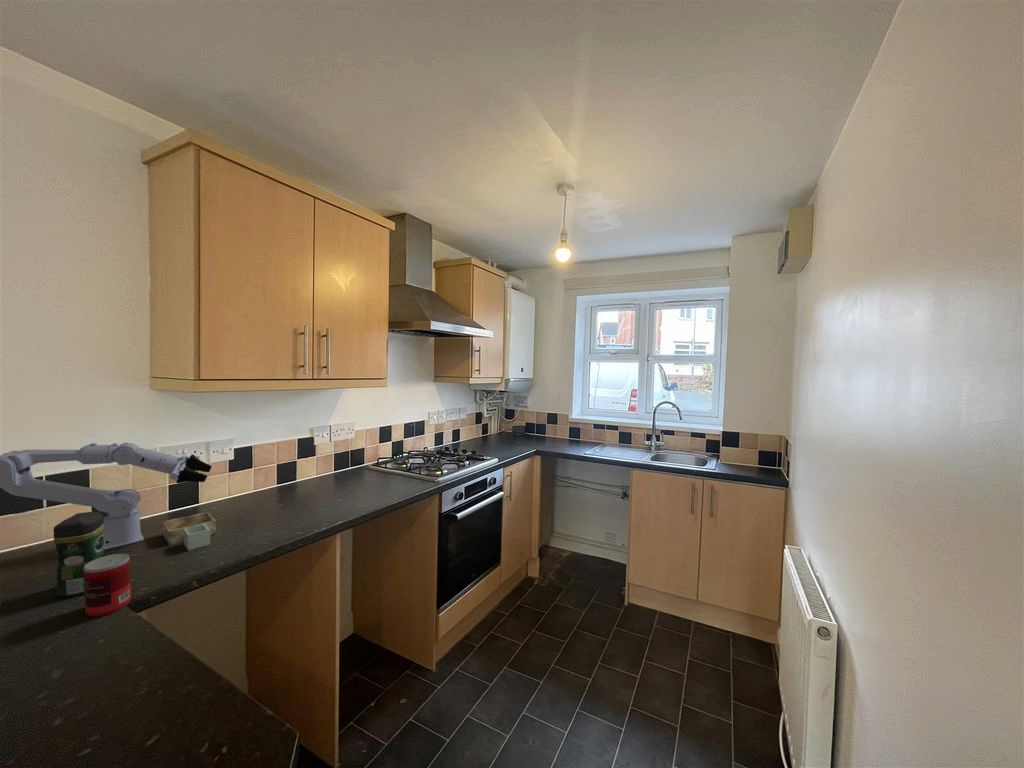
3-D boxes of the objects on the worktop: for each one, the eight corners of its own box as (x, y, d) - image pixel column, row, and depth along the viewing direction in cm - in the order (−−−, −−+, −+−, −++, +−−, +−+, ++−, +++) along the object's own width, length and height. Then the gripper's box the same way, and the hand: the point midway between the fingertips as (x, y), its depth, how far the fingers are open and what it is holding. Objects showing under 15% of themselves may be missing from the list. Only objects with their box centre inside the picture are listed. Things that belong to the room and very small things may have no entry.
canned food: (130, 593, 102) (128, 550, 101) (131, 607, 96) (130, 561, 95) (86, 606, 96) (83, 560, 96) (84, 622, 91) (82, 573, 90)
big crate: (169, 545, 128) (168, 531, 127) (163, 534, 135) (162, 521, 135) (216, 533, 137) (216, 520, 136) (208, 524, 144) (208, 511, 144)
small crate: (188, 551, 124) (188, 535, 124) (184, 544, 129) (183, 528, 129) (210, 545, 128) (209, 529, 128) (205, 538, 133) (204, 523, 132)
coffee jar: (71, 581, 107) (68, 511, 106) (111, 575, 110) (108, 507, 109) (49, 601, 98) (45, 525, 97) (93, 593, 101) (90, 520, 100)
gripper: (159, 460, 127) (209, 472, 134) (172, 443, 140) (217, 455, 147) (149, 480, 128) (199, 491, 134) (163, 461, 140) (208, 472, 147)
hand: (208, 474), depth 141 cm, fingers open, 7 cm apart
